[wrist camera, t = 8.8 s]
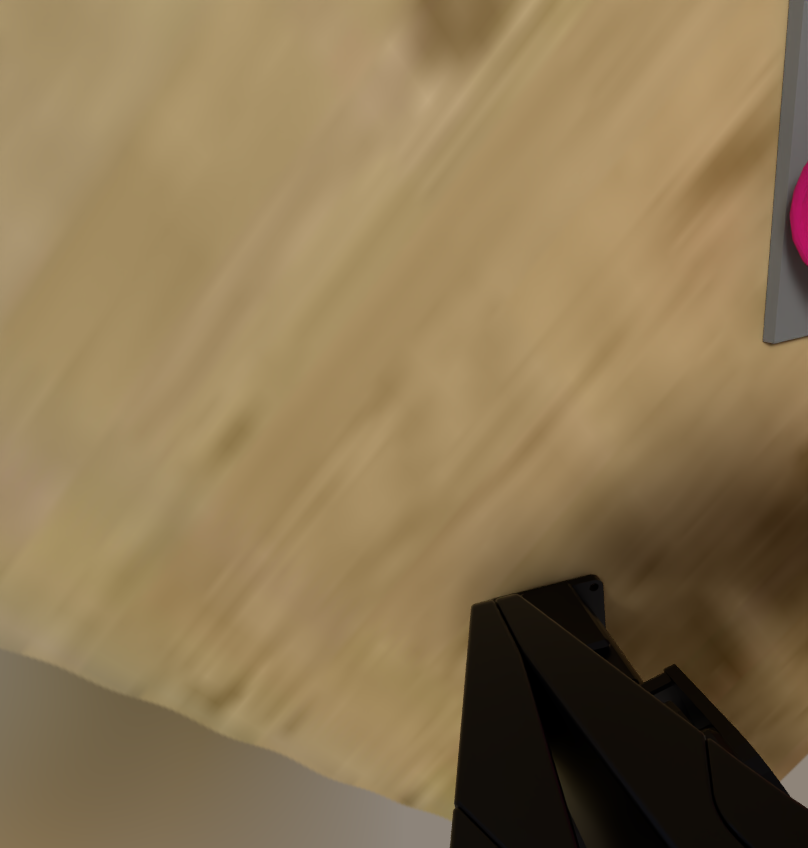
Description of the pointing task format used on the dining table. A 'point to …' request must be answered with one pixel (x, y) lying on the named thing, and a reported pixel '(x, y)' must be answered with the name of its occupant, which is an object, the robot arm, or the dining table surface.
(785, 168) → the mat
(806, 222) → the pepper mill
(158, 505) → the dining table surface
